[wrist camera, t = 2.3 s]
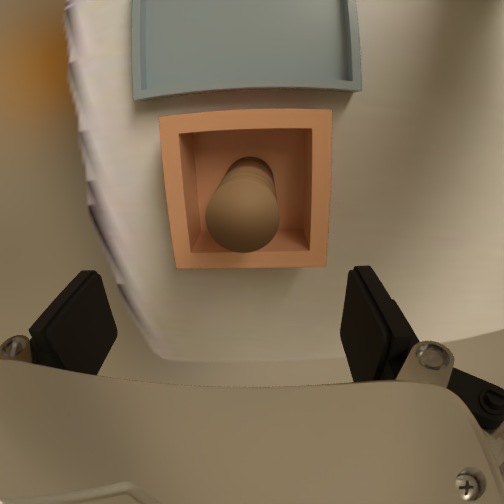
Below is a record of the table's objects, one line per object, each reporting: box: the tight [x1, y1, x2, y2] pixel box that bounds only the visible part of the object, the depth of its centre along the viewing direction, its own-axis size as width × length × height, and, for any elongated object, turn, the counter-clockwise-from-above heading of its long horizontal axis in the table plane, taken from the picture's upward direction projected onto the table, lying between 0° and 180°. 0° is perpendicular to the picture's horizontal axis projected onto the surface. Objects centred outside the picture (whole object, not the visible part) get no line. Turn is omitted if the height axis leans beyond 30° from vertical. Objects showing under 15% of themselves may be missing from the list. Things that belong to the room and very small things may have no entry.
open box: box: [159, 109, 332, 269], centre depth 26 cm, size 13×13×6 cm
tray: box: [132, 0, 362, 101], centre depth 21 cm, size 14×20×2 cm
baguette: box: [205, 156, 280, 253], centre depth 23 cm, size 4×4×11 cm
